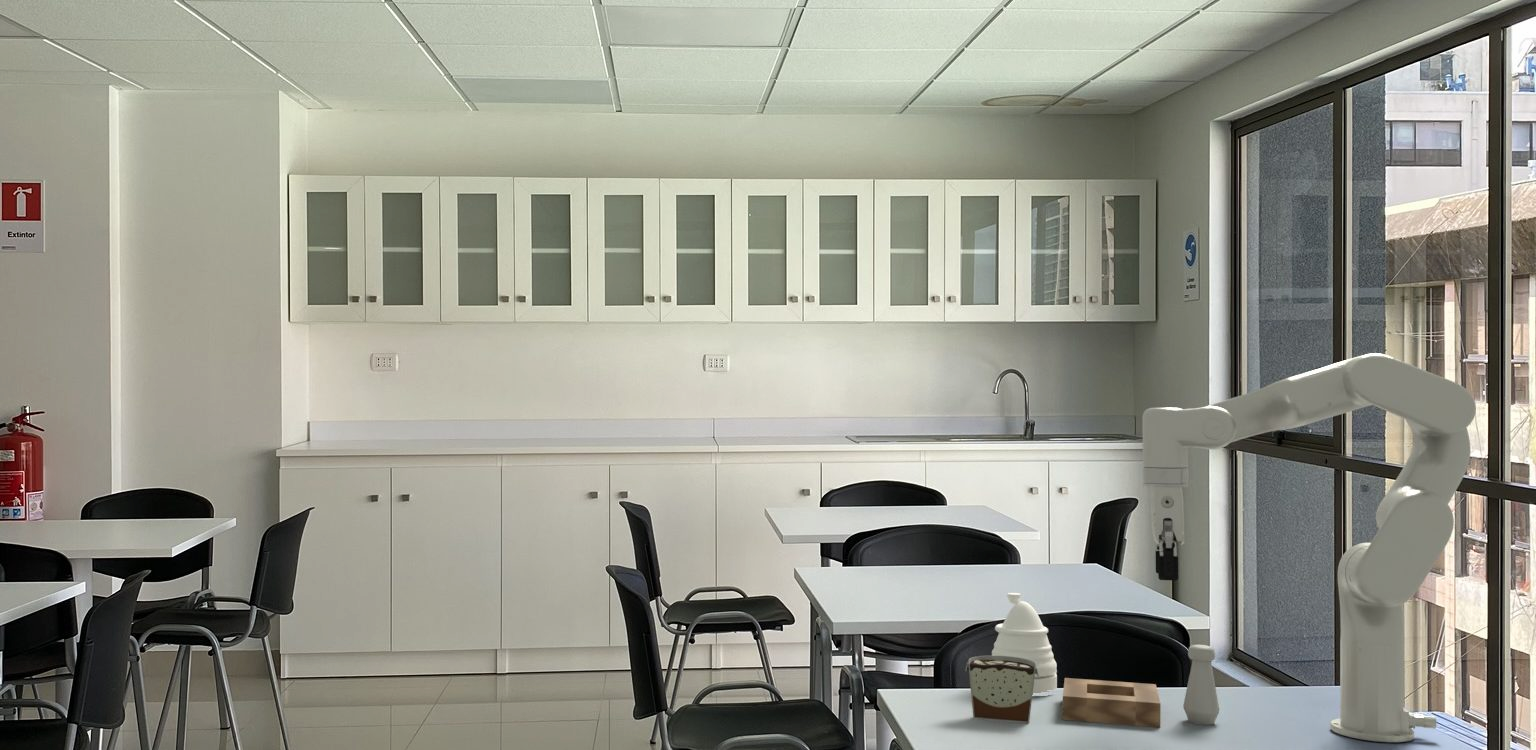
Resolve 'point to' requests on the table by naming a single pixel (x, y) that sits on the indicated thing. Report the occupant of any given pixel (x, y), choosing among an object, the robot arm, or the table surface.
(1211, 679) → the salt shaker
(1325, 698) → the table surface
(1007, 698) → the food container
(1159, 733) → the table surface
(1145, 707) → the brown wooden square frame
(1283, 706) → the table surface
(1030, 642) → the honey pot
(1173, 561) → the robot arm
